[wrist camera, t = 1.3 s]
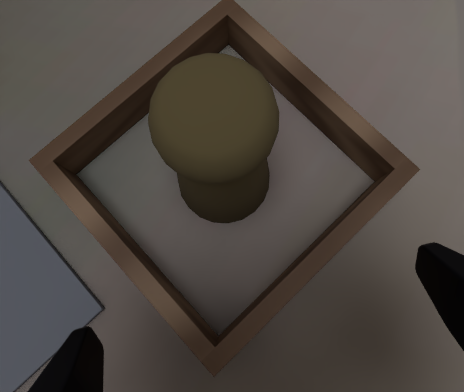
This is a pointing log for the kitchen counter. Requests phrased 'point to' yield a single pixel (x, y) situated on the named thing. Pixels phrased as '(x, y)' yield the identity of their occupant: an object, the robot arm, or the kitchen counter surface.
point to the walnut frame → (137, 106)
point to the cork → (216, 133)
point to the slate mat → (34, 297)
